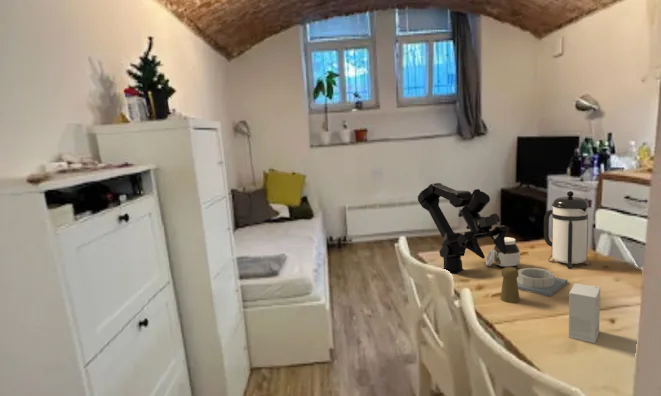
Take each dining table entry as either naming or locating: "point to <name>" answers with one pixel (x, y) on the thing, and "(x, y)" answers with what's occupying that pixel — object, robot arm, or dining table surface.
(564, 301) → the dining table surface
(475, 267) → the dining table surface
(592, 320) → the small box
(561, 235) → the coffee press
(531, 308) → the dining table surface
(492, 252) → the spread jar
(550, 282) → the mount
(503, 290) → the cork
